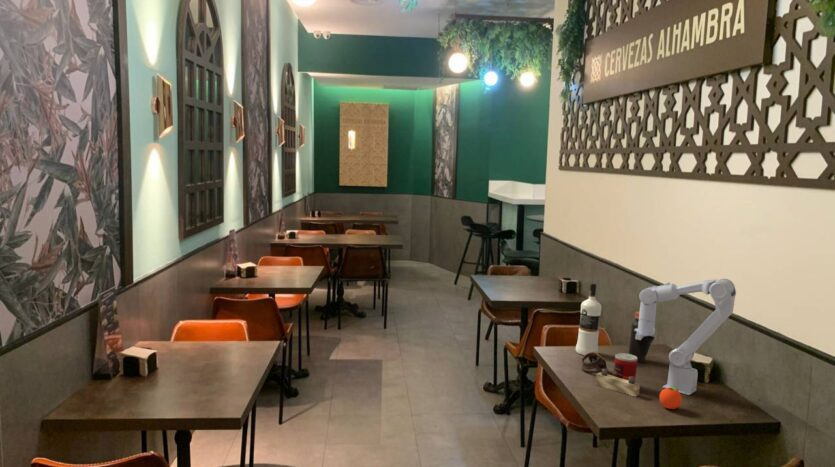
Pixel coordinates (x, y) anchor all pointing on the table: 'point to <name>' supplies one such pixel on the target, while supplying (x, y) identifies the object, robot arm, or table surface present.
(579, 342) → the vodka
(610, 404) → the table surface
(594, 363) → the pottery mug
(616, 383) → the maple stop bar
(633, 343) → the bottle
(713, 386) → the table surface
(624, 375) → the canned food
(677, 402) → the clementine
